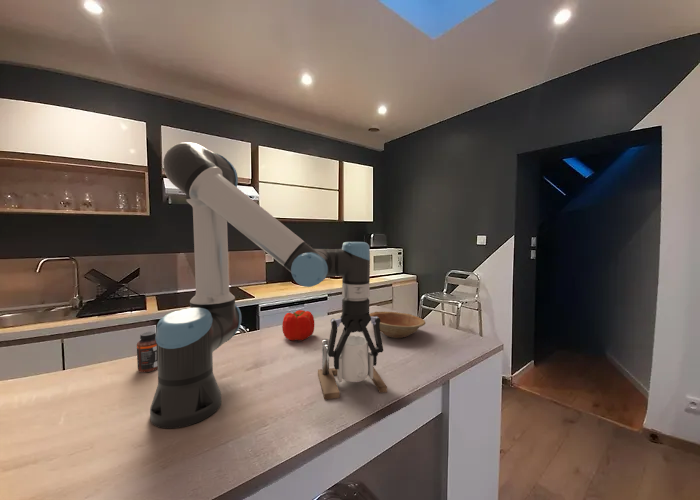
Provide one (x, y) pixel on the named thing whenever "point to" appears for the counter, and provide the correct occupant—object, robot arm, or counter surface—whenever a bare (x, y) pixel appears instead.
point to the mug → (355, 359)
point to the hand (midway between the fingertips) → (355, 378)
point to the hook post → (325, 357)
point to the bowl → (398, 323)
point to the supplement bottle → (147, 352)
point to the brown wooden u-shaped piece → (332, 390)
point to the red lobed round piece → (298, 325)
